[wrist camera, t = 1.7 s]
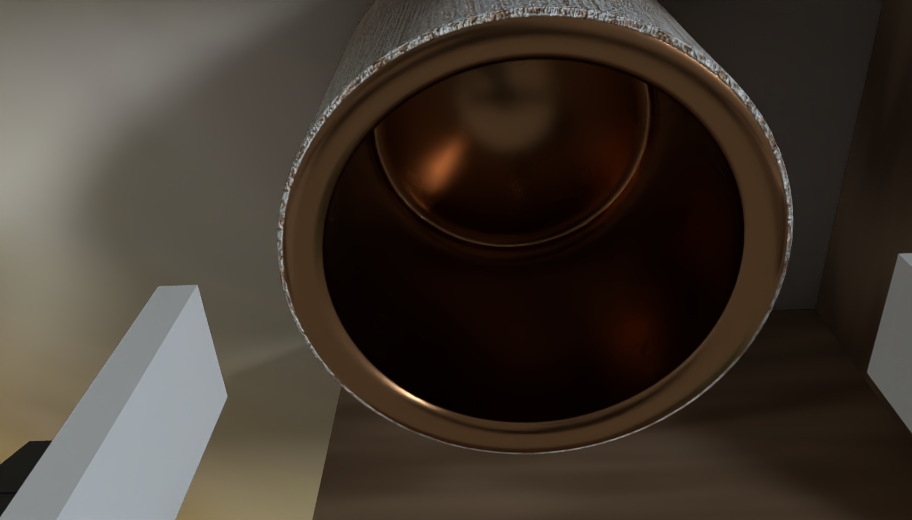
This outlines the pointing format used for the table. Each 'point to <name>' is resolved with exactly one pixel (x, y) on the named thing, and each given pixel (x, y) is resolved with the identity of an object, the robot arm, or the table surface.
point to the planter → (531, 221)
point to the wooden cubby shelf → (709, 393)
